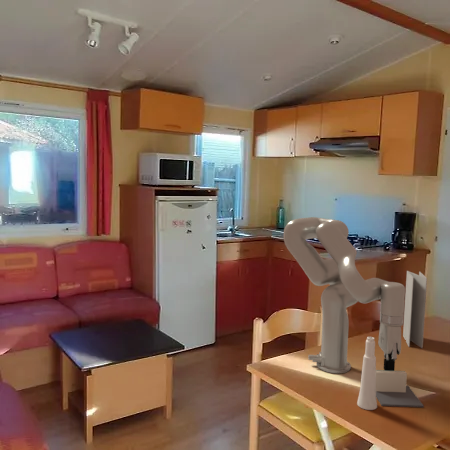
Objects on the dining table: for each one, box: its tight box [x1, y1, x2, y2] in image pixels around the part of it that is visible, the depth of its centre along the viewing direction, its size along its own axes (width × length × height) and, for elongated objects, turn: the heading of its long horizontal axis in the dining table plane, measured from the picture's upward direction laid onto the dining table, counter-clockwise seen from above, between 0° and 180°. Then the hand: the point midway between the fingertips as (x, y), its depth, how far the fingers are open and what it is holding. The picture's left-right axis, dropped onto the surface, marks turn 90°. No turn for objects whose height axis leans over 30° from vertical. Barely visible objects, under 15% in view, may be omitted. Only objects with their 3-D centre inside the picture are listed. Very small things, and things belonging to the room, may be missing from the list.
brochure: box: [402, 270, 428, 349], centre depth 201 cm, size 14×6×30 cm, turn 168°
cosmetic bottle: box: [356, 336, 378, 411], centre depth 144 cm, size 6×6×22 cm
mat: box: [376, 384, 425, 408], centre depth 152 cm, size 13×14×1 cm
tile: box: [376, 369, 408, 392], centre depth 154 cm, size 10×2×6 cm, turn 87°
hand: (388, 370), depth 160 cm, fingers closed
